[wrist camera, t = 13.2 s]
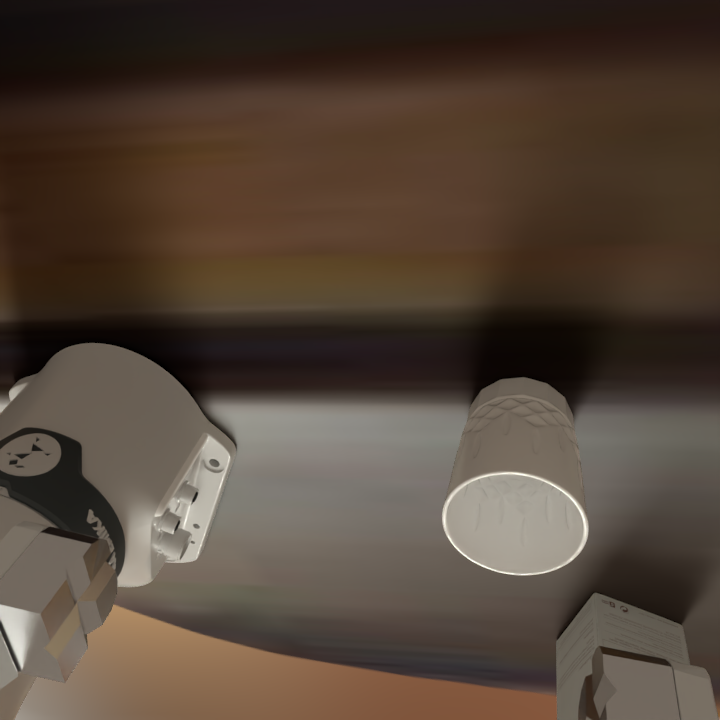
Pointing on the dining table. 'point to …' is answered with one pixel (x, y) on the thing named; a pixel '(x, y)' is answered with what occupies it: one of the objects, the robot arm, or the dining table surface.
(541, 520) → the white cup
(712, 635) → the dining table surface
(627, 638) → the supplement box
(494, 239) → the dining table surface
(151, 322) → the dining table surface
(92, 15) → the dining table surface
